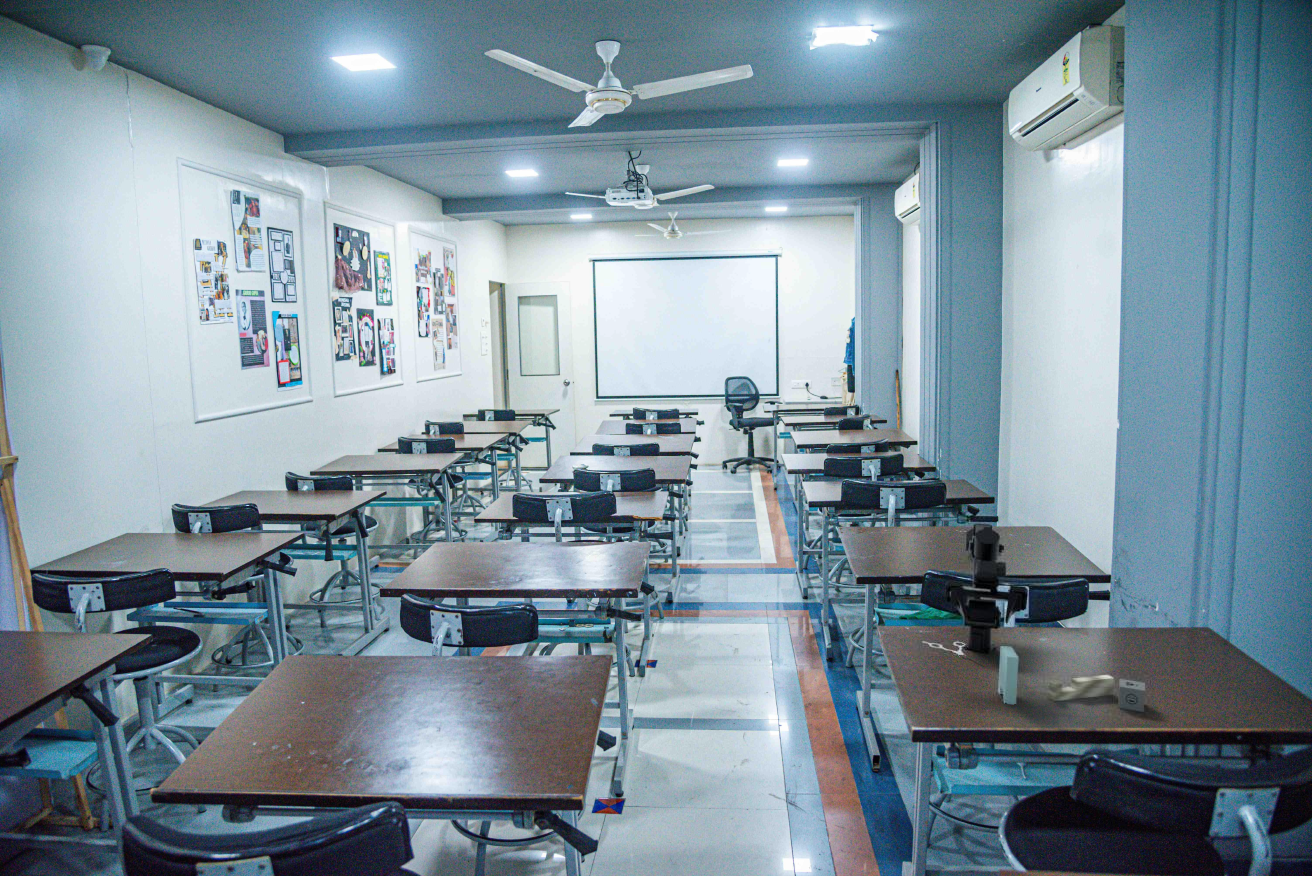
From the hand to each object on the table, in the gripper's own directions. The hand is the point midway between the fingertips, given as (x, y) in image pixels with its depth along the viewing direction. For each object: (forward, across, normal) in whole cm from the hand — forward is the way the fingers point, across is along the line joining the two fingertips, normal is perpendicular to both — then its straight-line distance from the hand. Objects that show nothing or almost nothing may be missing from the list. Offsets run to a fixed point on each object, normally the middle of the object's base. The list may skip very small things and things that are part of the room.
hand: (985, 619), depth 205 cm
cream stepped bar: (+8, +21, +14) cm, 26 cm away
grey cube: (+10, +31, +13) cm, 35 cm away
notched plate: (+14, +5, +10) cm, 18 cm away
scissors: (-8, -5, +23) cm, 25 cm away
